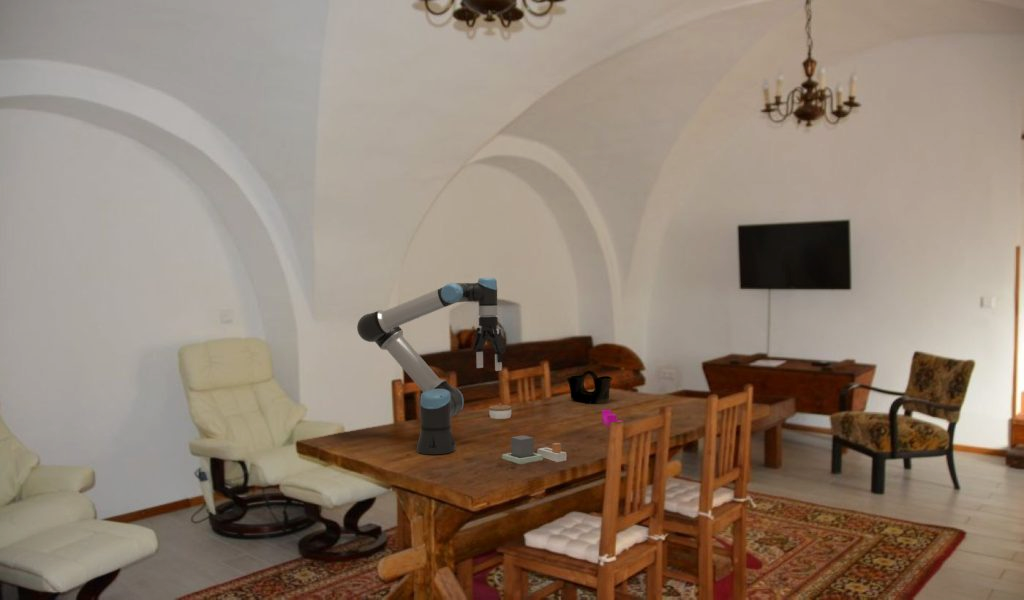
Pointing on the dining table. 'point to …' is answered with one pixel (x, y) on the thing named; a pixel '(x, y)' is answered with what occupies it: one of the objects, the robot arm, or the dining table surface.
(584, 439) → the dining table surface
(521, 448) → the grey rectangular block
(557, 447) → the breaker switch
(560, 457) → the breaker housing
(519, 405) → the dining table surface
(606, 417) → the toy block
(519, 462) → the tray
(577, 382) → the black handbag
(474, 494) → the dining table surface
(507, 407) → the lidded jar
